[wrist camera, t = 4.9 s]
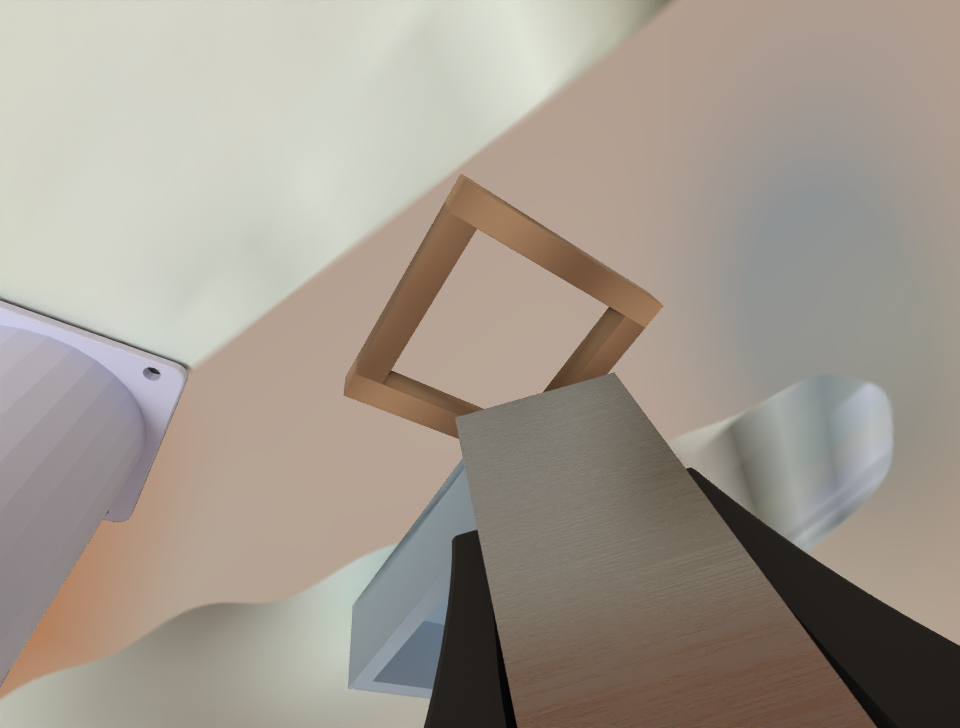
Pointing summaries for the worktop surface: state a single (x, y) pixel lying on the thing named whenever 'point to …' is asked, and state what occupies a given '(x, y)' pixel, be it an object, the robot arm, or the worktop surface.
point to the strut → (628, 579)
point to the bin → (410, 600)
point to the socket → (431, 269)
